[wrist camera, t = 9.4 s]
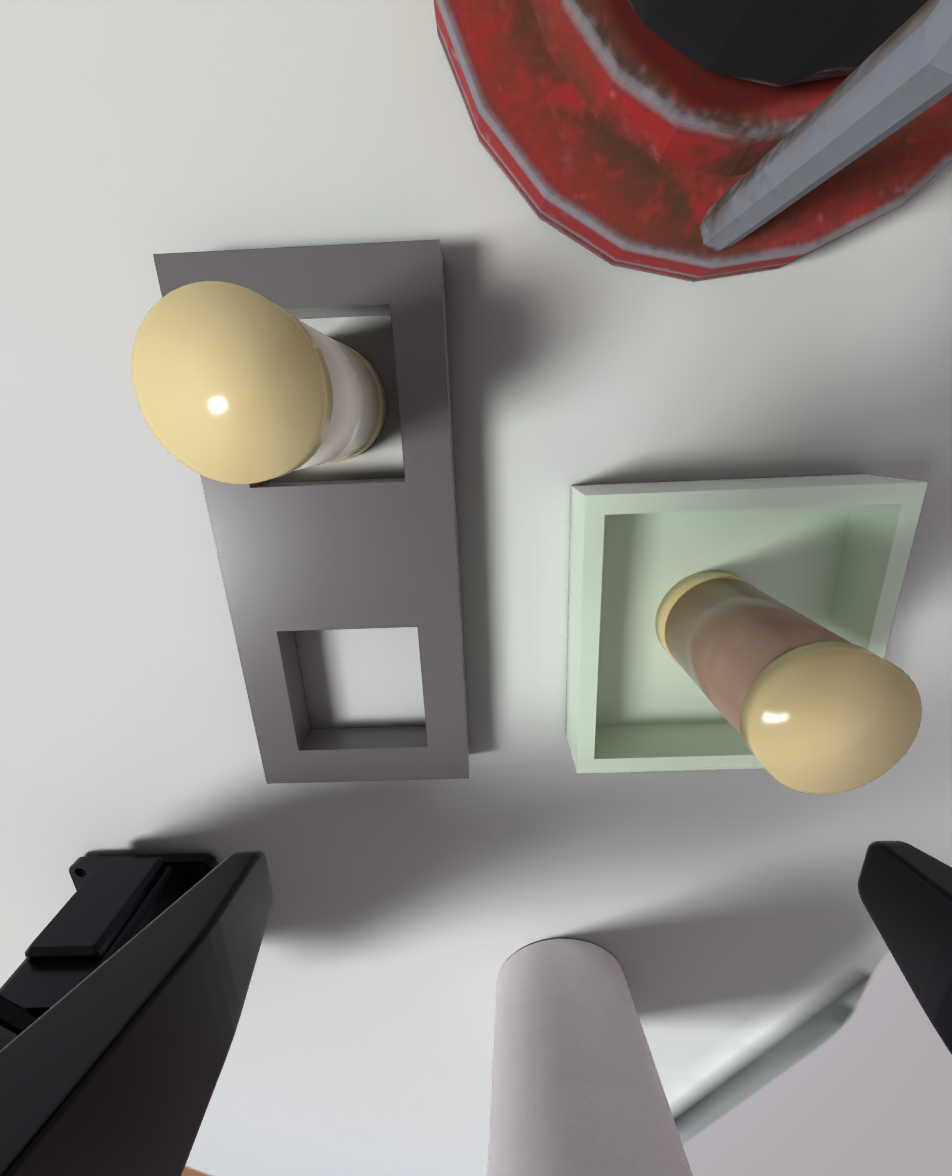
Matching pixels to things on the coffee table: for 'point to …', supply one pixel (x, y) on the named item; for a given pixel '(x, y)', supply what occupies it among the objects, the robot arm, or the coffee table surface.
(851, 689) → the fuse
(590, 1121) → the coffee cup
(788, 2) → the hourglass
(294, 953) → the coffee table surface
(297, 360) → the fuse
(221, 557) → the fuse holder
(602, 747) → the parts tray
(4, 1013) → the robot arm
